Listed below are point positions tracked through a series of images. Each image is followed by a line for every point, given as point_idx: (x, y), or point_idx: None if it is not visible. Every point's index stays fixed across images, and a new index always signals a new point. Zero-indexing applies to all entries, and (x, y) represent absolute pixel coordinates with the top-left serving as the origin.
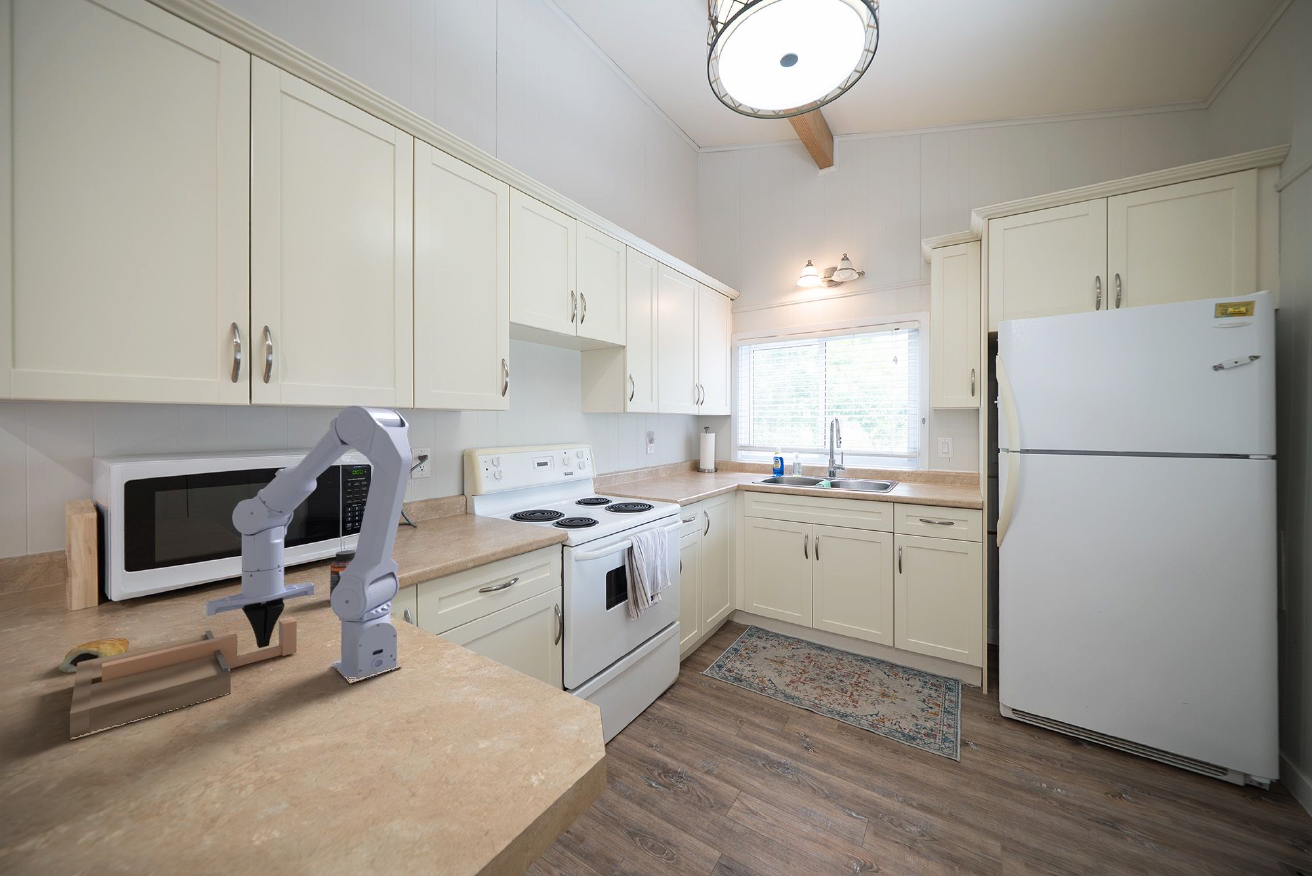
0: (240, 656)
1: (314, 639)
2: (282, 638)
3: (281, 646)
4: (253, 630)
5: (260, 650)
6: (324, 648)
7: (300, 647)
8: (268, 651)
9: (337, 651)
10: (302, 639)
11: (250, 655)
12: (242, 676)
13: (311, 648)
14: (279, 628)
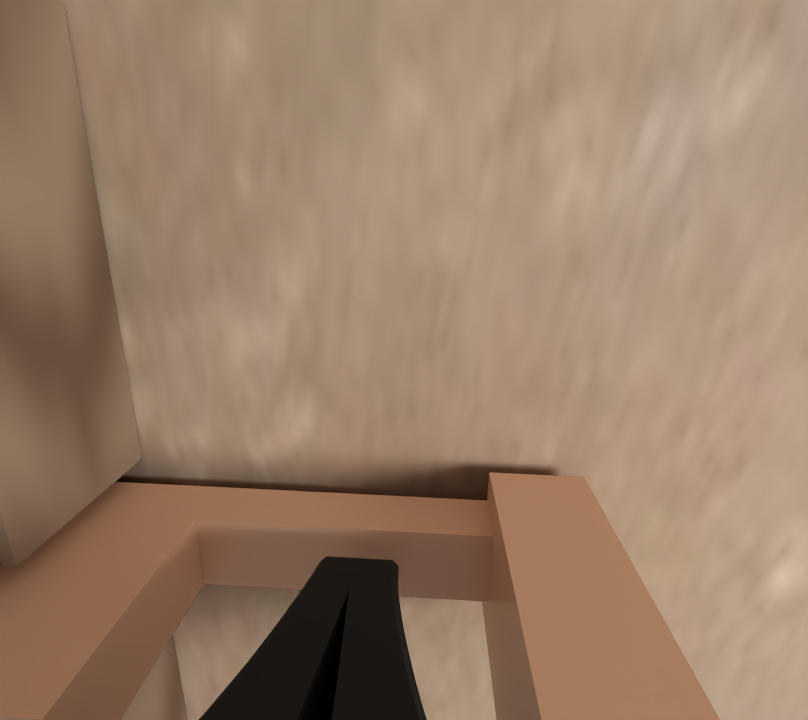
0: (224, 548)
1: (787, 380)
2: (497, 706)
3: (489, 599)
4: (242, 669)
5: (355, 540)
6: (729, 609)
7: (633, 471)
8: (398, 591)
9: (751, 706)
10: (727, 298)
11: (283, 581)
12: (253, 653)
13: (675, 547)
14: (520, 670)
